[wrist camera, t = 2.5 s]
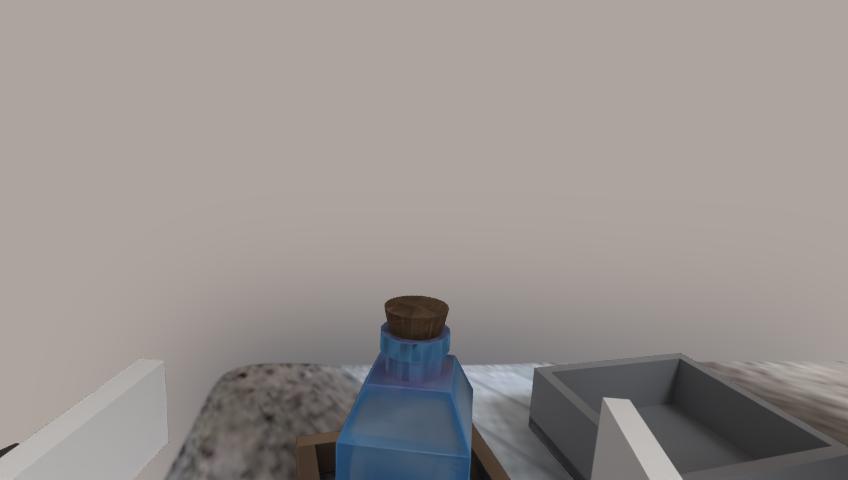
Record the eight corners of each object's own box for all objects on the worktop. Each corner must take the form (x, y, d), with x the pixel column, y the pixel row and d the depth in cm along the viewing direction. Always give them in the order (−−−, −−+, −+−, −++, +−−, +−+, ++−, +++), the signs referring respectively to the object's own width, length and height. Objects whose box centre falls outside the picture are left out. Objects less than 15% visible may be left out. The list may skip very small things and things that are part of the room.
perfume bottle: (363, 472, 31) (368, 282, 28) (465, 484, 30) (480, 291, 27) (334, 555, 25) (337, 324, 22) (462, 572, 24) (480, 336, 21)
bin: (671, 405, 40) (680, 352, 39) (839, 524, 28) (858, 452, 27) (528, 425, 36) (534, 367, 35) (653, 571, 25) (667, 490, 24)
